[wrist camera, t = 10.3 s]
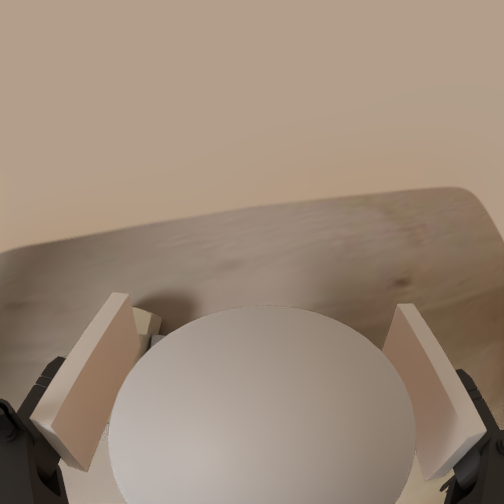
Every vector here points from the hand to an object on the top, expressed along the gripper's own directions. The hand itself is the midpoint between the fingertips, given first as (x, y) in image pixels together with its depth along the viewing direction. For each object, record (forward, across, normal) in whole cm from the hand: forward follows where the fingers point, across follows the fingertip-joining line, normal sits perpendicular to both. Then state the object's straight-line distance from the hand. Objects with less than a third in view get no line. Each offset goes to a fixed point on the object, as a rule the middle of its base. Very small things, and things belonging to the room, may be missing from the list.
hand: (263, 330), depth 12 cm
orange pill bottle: (+3, 0, -7) cm, 8 cm away
